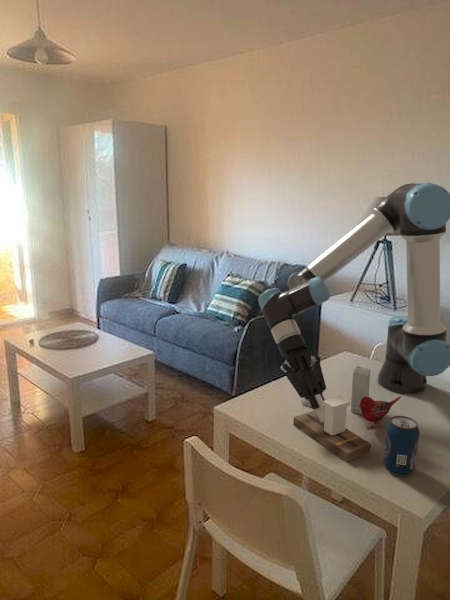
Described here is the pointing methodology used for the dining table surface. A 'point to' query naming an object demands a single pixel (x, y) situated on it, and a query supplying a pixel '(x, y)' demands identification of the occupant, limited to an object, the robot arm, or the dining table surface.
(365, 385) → the skincare box
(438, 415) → the dining table surface
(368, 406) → the decorative bird figurine
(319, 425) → the fader board
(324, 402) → the fader knob
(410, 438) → the soda can
